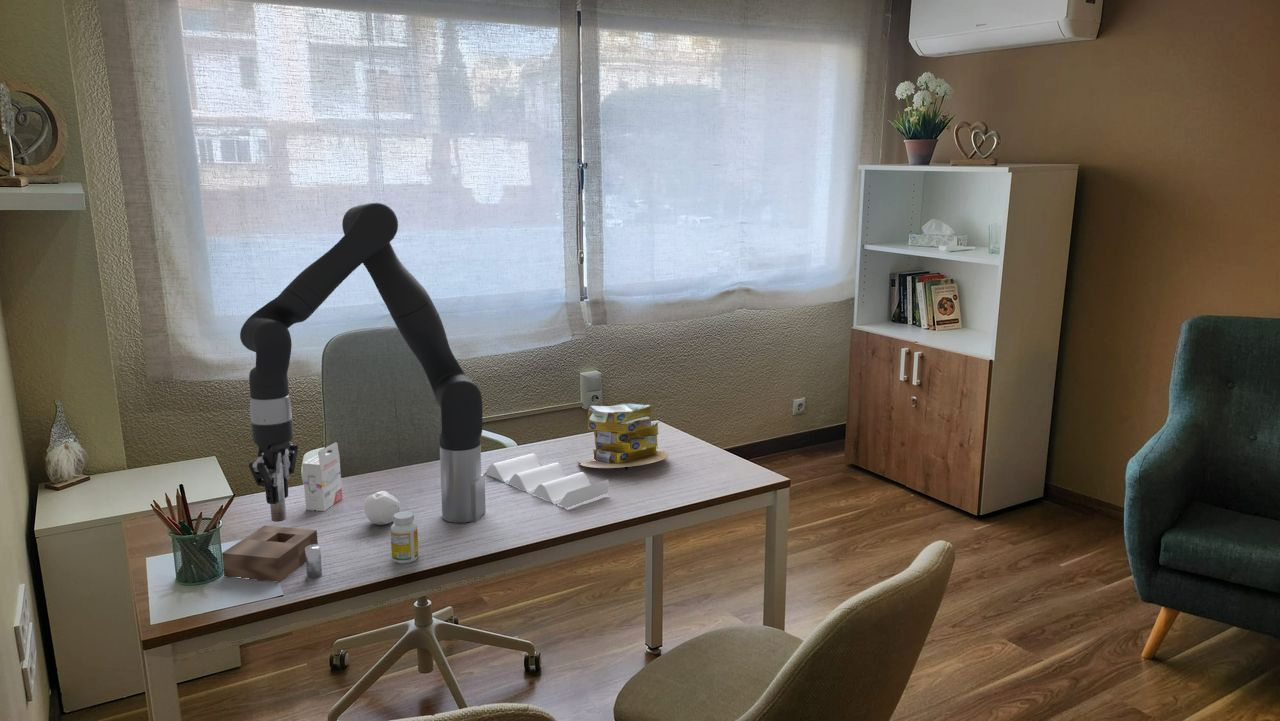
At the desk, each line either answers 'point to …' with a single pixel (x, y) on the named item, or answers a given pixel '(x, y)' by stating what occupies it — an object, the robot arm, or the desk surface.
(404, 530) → the supplement bottle
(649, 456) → the stack of yellow boxes
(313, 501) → the ink cartridge box
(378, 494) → the motion sensor
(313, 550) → the short pin
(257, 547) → the socket block
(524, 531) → the desk surface
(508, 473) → the white wavy rack
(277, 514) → the long pin
